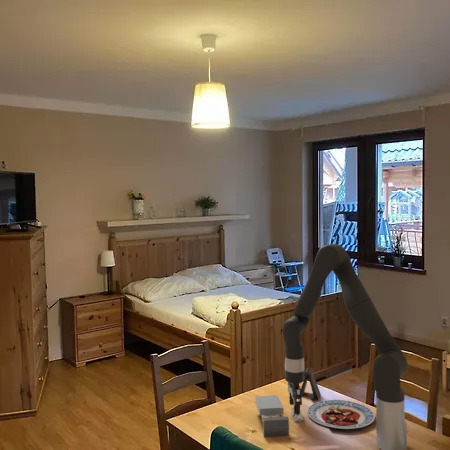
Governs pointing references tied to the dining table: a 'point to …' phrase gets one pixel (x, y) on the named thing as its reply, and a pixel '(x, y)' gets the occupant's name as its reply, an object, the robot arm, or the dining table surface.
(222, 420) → the dining table surface
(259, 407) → the slab
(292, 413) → the roller
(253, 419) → the dining table surface
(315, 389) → the grey a-frame stand
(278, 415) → the roller middle
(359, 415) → the ceramic plate
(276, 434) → the bar
